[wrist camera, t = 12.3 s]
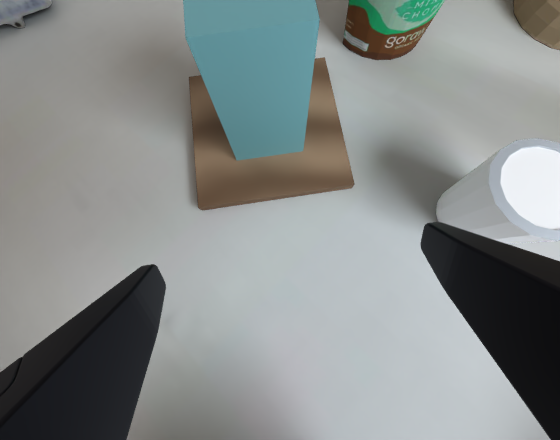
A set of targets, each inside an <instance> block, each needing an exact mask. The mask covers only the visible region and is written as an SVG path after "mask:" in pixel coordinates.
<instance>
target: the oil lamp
mask: <svg viewBox="0 0 560 440" xmlns="http://www.w3.org/2000/svg"><path fill="white" fill-rule="evenodd" d="M514 14H515V16H516V18H517V20H518V21H519V23H520V25H521V27H522V28H523V29H524V30H525V31H526V32H527V33H528V34H529V35H531V36H532V37H533V38H534V39H535V40H537V41H539V42H541V43H543V44H545V45H547V46H549V47H551V48H554V49H558V50H560V0H514Z"/></svg>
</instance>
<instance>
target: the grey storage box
mask: <svg viewBox="0 0 560 440" xmlns="http://www.w3.org/2000/svg"><path fill="white" fill-rule="evenodd" d="M51 4H52V0H0V25H2V24H10V25H13V26H15V27H17V28H24V27H25V22H24V20H23V16H25V15H27V14H31V13H34V12H36V11H39V10H43V9H45V8H48V7H49V6H50V5H51Z"/></svg>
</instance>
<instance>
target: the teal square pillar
mask: <svg viewBox="0 0 560 440" xmlns="http://www.w3.org/2000/svg"><path fill="white" fill-rule="evenodd" d="M183 4H184V21H185V37H186V40H187V42H188V45H189V47H190V50H191V52H192V54H193V57H194V59H195V62H196V64H197V66H198V69H199V71H200V74H201V76H202V78H203V81H204V83H205V86H206V88H207V90H208V93H209V95H210V98H211V100H212V102H213V105H214V107H215V110H216V112H217V114H218V117H219V119H220V122H221V124H222V126H223V129H224V131H225V133H226V136H227V138H228V141H229V143H230V145H231V148H232V150H233V153H234V155H235V157H236V160H237V161H238V160H245V159H252V158H259V157H266V156H273V155H280V154H287V153H294V152H301V151H303V149H304V141H305V133H306V125H307V117H308V109H309V101H310V93H311V84H312V76H313V68H314V60H315V52H316V44H317V36H318V28H319V20H320V19H319V15H318V10H317V6H316V2H315V0H183Z"/></svg>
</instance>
